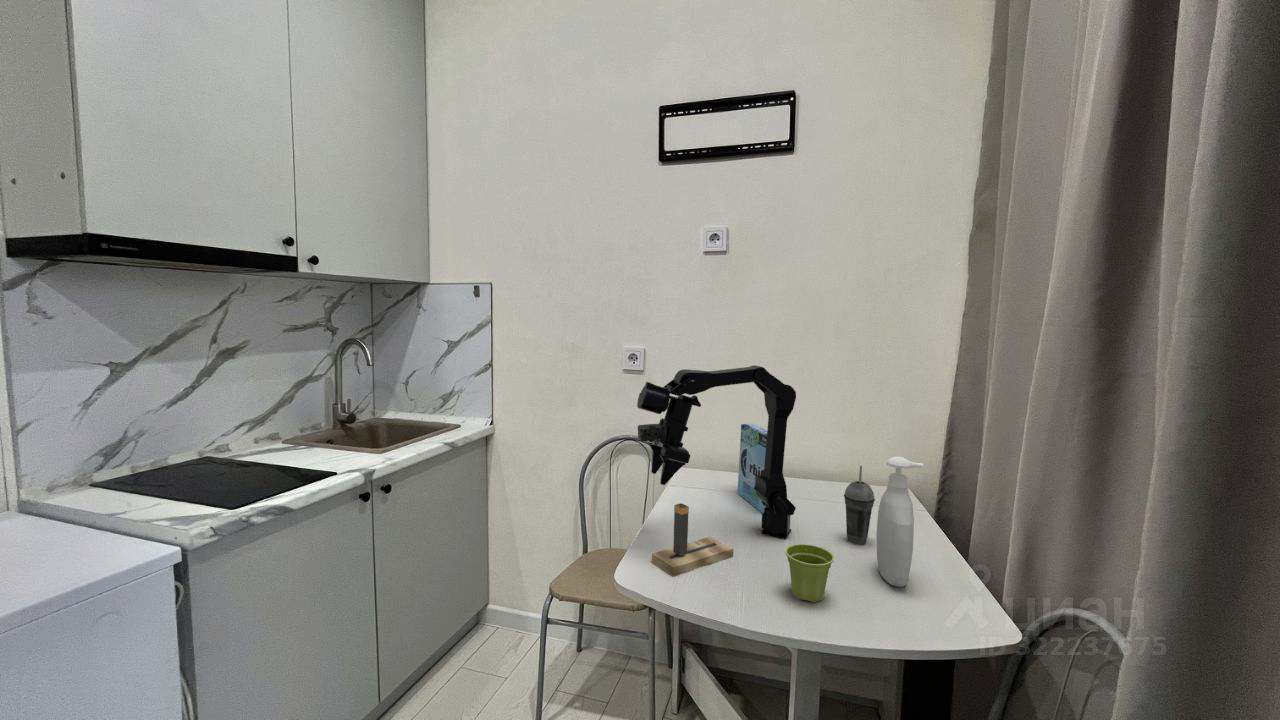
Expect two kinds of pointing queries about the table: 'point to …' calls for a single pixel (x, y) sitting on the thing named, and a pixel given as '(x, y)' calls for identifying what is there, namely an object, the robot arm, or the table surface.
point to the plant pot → (809, 570)
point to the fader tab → (680, 529)
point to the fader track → (692, 556)
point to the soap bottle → (896, 526)
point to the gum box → (751, 462)
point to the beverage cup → (858, 510)
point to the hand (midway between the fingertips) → (657, 478)
